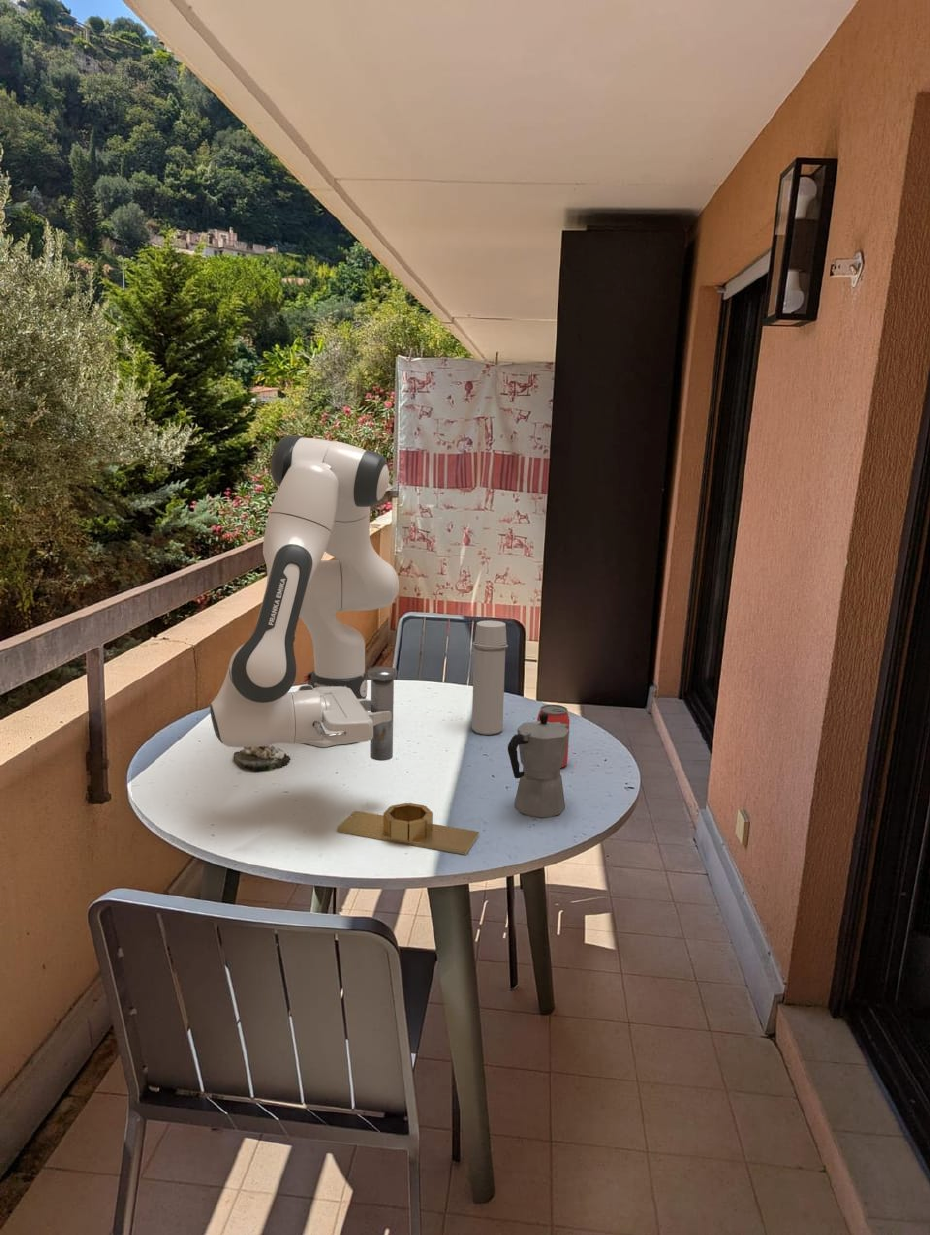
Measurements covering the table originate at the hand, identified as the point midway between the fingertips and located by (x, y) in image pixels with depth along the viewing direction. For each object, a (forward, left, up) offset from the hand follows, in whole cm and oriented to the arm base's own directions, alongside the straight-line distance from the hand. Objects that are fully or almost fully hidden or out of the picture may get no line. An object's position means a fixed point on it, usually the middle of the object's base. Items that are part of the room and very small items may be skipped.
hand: (387, 710), depth 154 cm
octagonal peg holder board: (+8, -9, -18) cm, 22 cm away
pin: (-1, -1, -9) cm, 9 cm away
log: (-32, +9, -19) cm, 38 cm away
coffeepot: (+26, +8, -18) cm, 33 cm away
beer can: (+24, +30, -18) cm, 43 cm away
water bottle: (+6, +45, -18) cm, 49 cm away
